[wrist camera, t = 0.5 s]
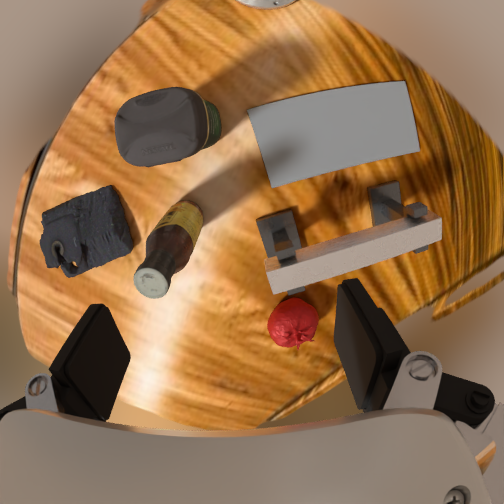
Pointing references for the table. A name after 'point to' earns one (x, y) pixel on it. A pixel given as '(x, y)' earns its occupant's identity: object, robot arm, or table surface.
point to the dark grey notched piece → (85, 232)
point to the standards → (382, 211)
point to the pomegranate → (293, 323)
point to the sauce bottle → (169, 248)
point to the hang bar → (352, 251)
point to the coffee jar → (165, 126)
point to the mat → (334, 130)
